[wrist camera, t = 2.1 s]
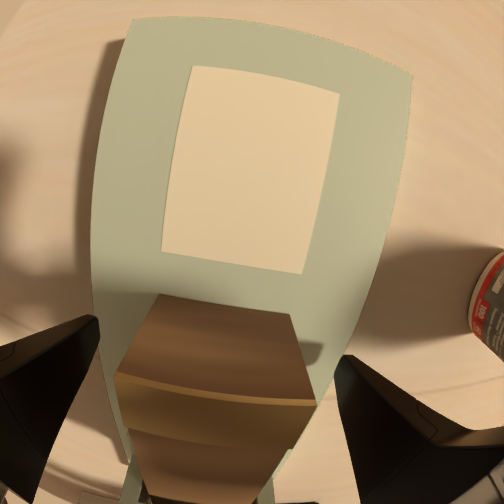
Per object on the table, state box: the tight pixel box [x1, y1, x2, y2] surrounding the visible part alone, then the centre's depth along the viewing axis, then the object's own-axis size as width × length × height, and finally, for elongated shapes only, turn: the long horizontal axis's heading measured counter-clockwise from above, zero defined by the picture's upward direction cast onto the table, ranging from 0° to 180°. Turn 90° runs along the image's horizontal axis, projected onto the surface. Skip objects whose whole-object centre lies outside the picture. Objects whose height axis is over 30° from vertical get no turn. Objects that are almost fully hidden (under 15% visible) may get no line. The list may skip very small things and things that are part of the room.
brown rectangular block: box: [113, 294, 318, 504], centre depth 9 cm, size 12×4×4 cm, turn 169°
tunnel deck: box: [90, 17, 412, 504], centre depth 9 cm, size 28×10×7 cm, turn 169°
